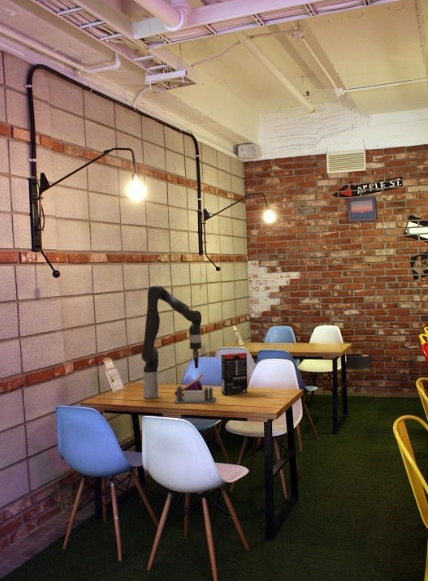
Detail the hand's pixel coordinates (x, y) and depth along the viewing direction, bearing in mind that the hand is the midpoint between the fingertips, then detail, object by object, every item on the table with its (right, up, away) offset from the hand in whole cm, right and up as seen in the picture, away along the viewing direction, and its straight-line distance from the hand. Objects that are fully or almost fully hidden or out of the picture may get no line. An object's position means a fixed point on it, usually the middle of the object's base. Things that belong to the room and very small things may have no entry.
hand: (196, 368), depth 372 cm
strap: (-3, -10, -2) cm, 11 cm away
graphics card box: (+25, -20, +16) cm, 36 cm away
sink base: (-1, -21, -2) cm, 21 cm away
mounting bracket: (-7, -21, +17) cm, 28 cm away
